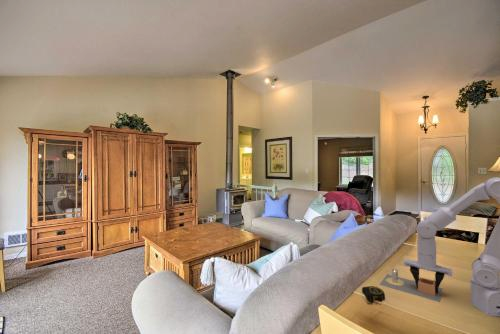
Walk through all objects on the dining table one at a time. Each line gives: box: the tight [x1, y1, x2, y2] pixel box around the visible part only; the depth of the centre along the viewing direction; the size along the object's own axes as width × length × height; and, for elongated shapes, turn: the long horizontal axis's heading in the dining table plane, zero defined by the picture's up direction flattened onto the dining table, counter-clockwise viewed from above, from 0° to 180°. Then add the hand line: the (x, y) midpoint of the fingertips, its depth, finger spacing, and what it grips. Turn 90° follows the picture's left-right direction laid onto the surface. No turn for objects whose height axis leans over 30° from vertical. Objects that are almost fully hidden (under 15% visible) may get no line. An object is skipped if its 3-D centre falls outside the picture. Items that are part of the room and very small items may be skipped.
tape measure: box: [361, 285, 386, 304], centre depth 88 cm, size 7×7×4 cm
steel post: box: [391, 268, 399, 283], centre depth 98 cm, size 2×2×6 cm
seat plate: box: [379, 274, 444, 303], centre depth 94 cm, size 19×12×2 cm, turn 48°
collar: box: [418, 276, 436, 296], centre depth 91 cm, size 5×5×4 cm
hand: (427, 289), depth 91 cm, fingers closed on collar, 5 cm apart
